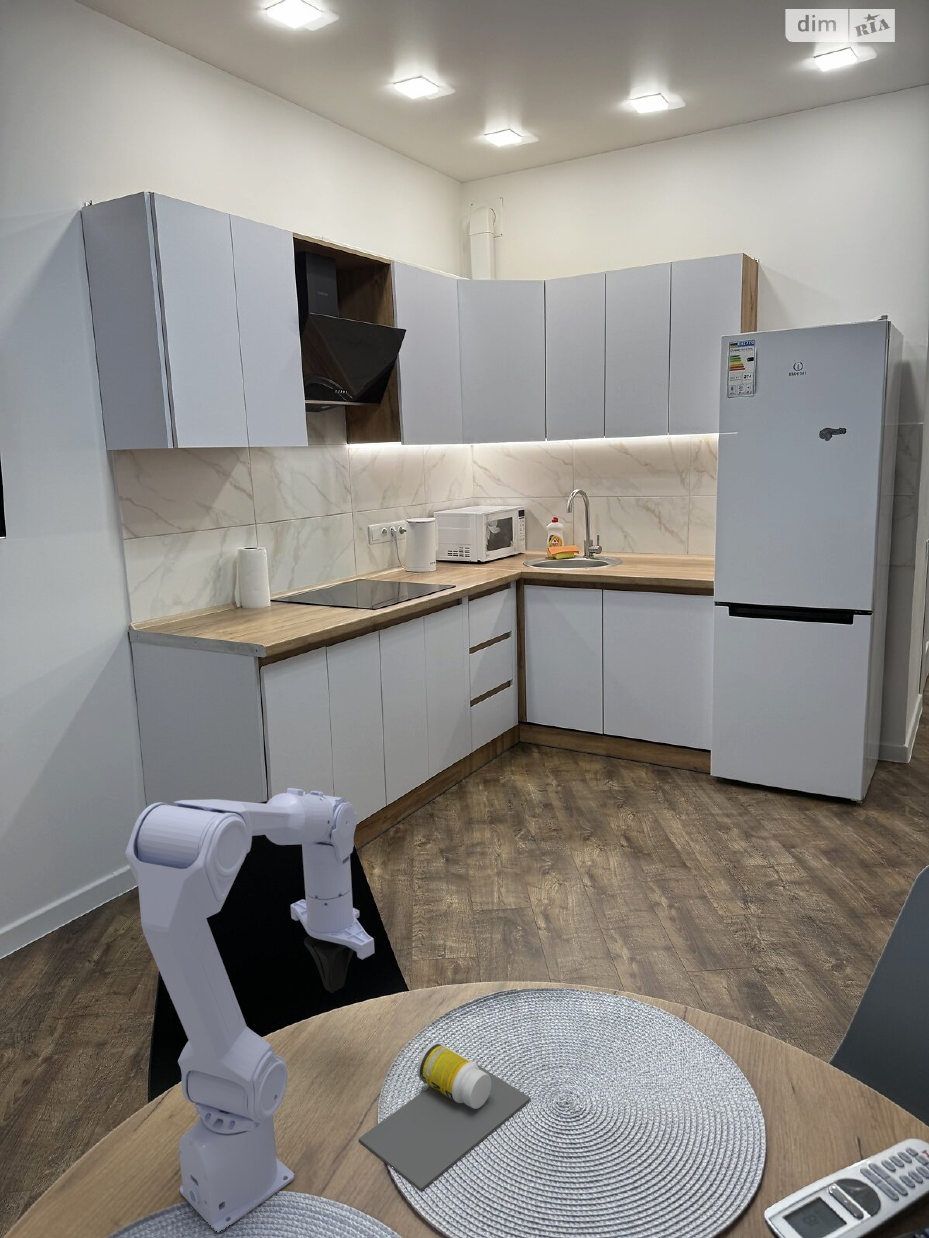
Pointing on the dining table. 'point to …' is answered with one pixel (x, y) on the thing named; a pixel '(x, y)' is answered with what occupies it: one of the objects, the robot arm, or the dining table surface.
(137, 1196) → the dining table surface
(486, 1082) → the supplement bottle
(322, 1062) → the dining table surface
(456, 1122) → the mat
